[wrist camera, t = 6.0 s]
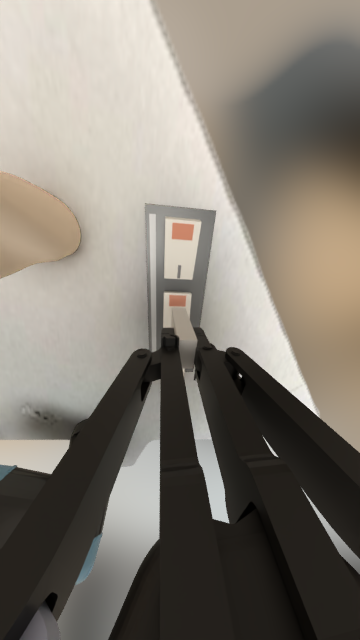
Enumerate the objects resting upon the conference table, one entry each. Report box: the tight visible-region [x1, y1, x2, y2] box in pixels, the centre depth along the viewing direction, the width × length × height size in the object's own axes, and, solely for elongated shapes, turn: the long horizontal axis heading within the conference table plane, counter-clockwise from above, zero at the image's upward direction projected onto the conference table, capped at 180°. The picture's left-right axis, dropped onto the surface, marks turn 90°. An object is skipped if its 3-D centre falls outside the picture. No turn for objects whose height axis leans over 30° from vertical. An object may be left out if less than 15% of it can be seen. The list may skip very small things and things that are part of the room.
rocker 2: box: [163, 291, 192, 328], centre depth 23 cm, size 4×7×2 cm, turn 176°
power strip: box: [145, 203, 216, 372], centre depth 28 cm, size 9×37×4 cm, turn 176°
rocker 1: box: [164, 216, 201, 280], centre depth 19 cm, size 4×7×2 cm, turn 176°
